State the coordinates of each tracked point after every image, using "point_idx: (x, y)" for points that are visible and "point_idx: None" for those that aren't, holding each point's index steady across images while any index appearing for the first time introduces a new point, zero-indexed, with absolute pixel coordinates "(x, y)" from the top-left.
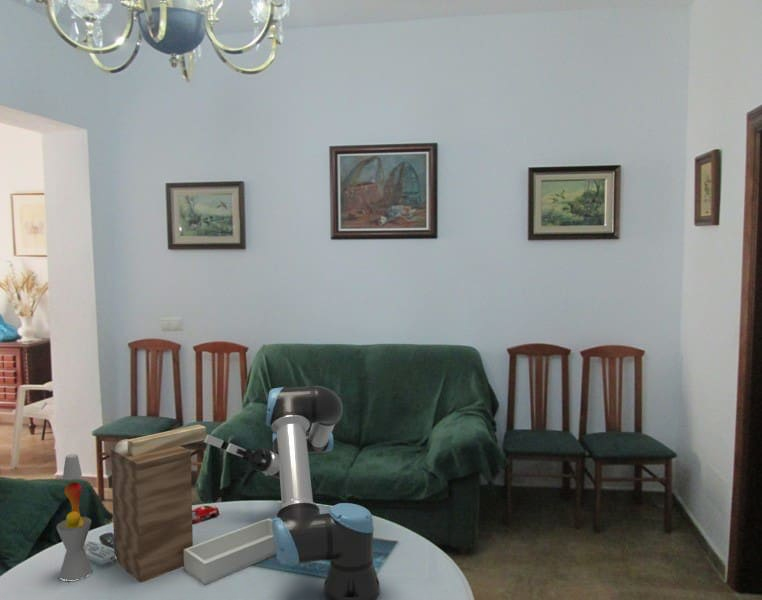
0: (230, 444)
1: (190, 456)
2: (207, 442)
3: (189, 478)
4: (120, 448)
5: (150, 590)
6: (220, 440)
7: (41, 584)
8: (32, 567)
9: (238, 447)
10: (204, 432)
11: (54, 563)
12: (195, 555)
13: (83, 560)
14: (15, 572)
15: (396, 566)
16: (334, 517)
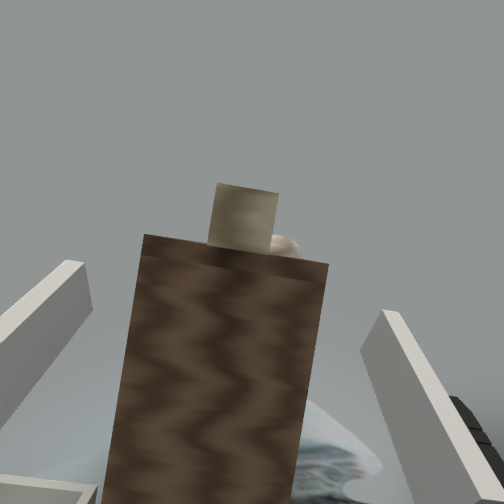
0: (66, 266)
1: (142, 251)
2: (366, 360)
3: (133, 318)
4: None
5: (105, 453)
6: (443, 444)
7: None
8: (310, 412)
9: (2, 323)
10: (213, 209)
11: (307, 426)
12: (39, 483)
13: None
14: (307, 402)
15: None
16: None
